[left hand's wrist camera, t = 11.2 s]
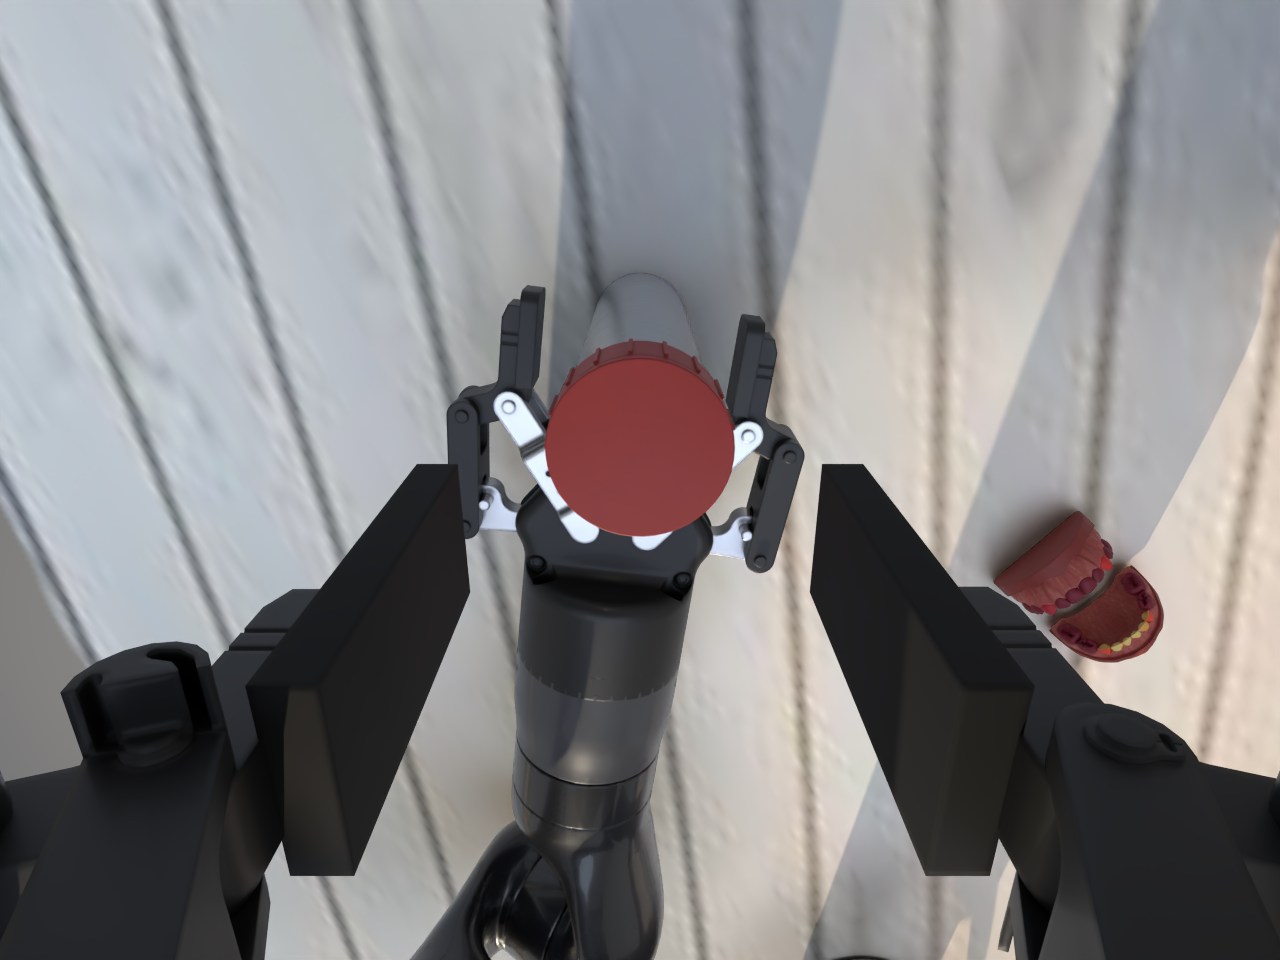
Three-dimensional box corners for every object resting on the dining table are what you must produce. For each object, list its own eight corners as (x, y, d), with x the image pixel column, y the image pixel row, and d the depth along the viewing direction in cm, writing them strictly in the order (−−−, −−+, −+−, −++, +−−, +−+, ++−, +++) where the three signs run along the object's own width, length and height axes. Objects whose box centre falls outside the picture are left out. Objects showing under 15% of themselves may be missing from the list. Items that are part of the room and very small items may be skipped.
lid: (669, 301, 19) (673, 315, 17) (761, 451, 21) (773, 480, 19) (516, 398, 20) (503, 421, 18) (614, 535, 22) (612, 571, 20)
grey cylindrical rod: (654, 254, 34) (667, 329, 18) (701, 333, 36) (755, 470, 19) (577, 304, 35) (521, 420, 19) (626, 379, 37) (615, 550, 20)
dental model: (1113, 697, 38) (1014, 606, 36) (1067, 651, 42) (976, 566, 40) (1206, 624, 37) (1109, 525, 35) (1150, 584, 41) (1059, 493, 39)
